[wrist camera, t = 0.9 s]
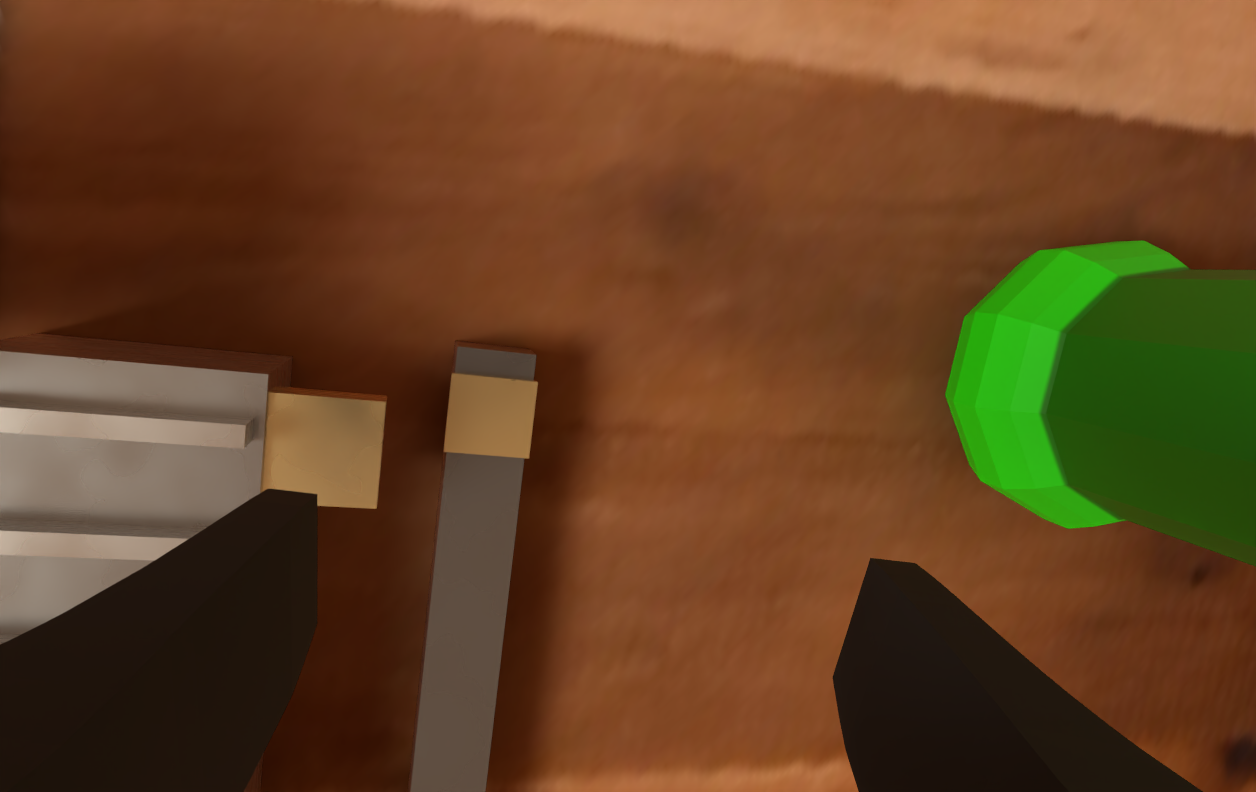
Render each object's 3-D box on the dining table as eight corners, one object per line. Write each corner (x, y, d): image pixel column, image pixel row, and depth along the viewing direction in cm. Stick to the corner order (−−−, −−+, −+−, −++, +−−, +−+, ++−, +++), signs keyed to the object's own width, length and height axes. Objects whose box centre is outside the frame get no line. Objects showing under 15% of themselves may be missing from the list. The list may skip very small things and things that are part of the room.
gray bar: (466, 895, 32) (470, 952, 29) (392, 898, 31) (390, 956, 28) (530, 347, 29) (541, 356, 27) (451, 339, 29) (454, 347, 26)
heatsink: (346, 883, 30) (330, 1018, 25) (16, 898, 28) (-82, 1052, 22) (392, 365, 28) (385, 389, 23) (38, 332, 26) (-64, 351, 20)
